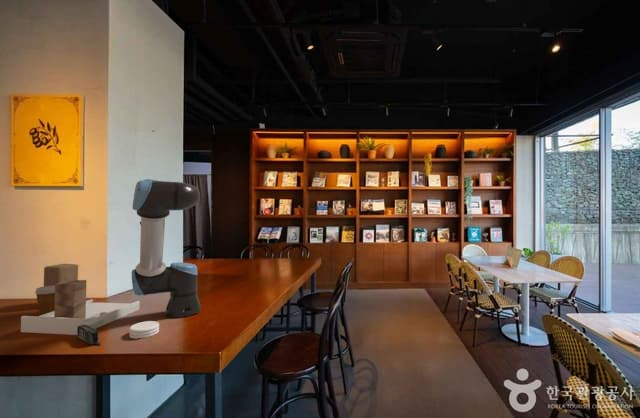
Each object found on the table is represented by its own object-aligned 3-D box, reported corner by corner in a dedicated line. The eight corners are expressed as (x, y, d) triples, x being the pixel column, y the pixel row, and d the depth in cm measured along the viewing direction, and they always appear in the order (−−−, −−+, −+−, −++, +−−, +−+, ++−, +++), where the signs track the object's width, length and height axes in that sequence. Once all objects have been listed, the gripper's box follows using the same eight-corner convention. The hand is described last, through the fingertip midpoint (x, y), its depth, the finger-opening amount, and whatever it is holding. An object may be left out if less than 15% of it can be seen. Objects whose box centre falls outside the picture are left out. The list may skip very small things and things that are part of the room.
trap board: (90, 307, 144) (91, 295, 144) (139, 309, 142) (139, 296, 142) (20, 332, 114) (21, 316, 114) (81, 335, 111) (81, 319, 111)
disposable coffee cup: (30, 317, 129) (31, 290, 129) (39, 311, 138) (39, 286, 138) (58, 314, 134) (59, 288, 134) (64, 308, 142) (65, 284, 142)
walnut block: (85, 318, 122) (86, 280, 123) (73, 324, 115) (74, 283, 116) (67, 318, 121) (68, 280, 122) (54, 324, 114) (55, 284, 115)
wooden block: (57, 307, 143) (58, 267, 144) (41, 306, 145) (43, 266, 146) (78, 301, 153) (79, 264, 154) (63, 300, 155) (64, 263, 156)
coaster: (140, 328, 118) (140, 320, 118) (164, 329, 117) (164, 320, 117) (122, 339, 108) (122, 329, 108) (148, 340, 107) (148, 330, 107)
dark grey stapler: (75, 325, 109) (93, 333, 101) (85, 323, 111) (103, 330, 103) (75, 339, 108) (93, 347, 101) (85, 336, 111) (103, 344, 103)
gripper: (152, 208, 162) (151, 251, 162) (135, 208, 149) (134, 253, 149) (164, 208, 162) (164, 251, 161) (148, 208, 149) (147, 254, 148)
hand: (149, 252), depth 155 cm, fingers closed
